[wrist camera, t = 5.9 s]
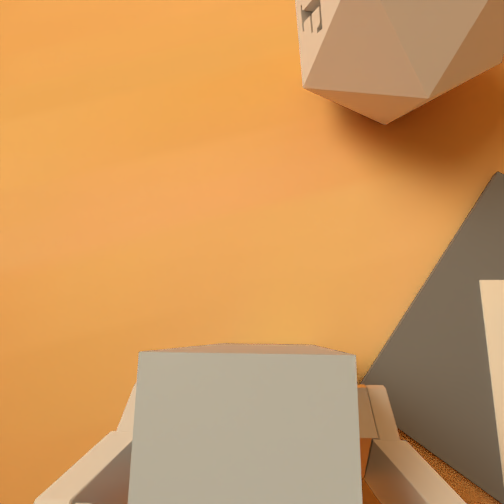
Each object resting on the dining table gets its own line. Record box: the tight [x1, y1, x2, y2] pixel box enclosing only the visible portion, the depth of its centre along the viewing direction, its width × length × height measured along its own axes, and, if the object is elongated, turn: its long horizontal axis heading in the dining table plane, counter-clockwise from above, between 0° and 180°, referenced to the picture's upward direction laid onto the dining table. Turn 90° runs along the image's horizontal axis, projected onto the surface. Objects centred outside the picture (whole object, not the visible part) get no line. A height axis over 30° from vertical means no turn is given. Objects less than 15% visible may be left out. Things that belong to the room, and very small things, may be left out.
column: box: [128, 344, 363, 504], centre depth 11 cm, size 4×4×10 cm
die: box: [295, 0, 504, 125], centre depth 16 cm, size 8×9×10 cm
